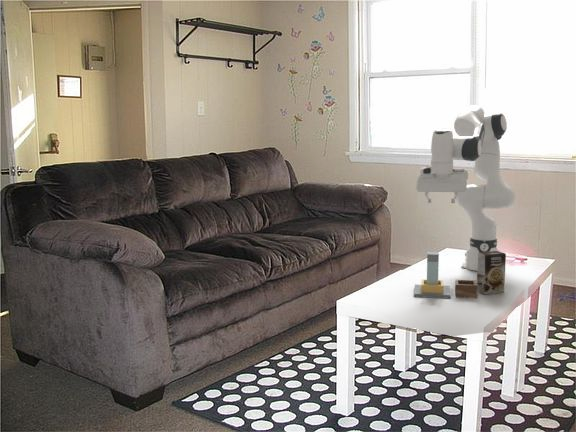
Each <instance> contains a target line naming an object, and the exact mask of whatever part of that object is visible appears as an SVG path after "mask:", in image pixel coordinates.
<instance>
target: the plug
mask: <svg viewBox="0 0 576 432" xmlns="http://www.w3.org/2000/svg"><path fill="white" fill-rule="evenodd" d="M426 254H427V255H426V280H427V284H428V285H438V280H439V262H440V261H439V258H440V257H439V255H440V253H439V251H427V253H426Z"/></svg>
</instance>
